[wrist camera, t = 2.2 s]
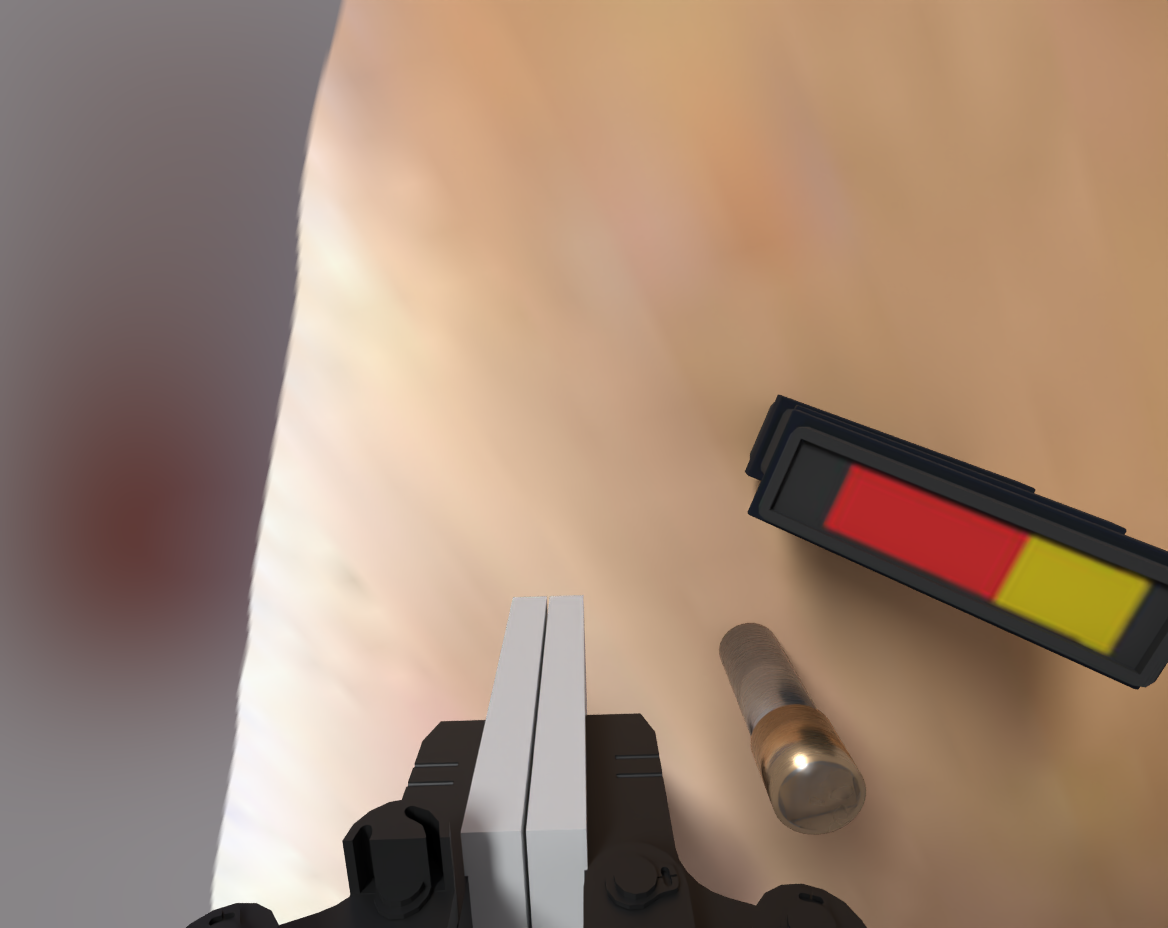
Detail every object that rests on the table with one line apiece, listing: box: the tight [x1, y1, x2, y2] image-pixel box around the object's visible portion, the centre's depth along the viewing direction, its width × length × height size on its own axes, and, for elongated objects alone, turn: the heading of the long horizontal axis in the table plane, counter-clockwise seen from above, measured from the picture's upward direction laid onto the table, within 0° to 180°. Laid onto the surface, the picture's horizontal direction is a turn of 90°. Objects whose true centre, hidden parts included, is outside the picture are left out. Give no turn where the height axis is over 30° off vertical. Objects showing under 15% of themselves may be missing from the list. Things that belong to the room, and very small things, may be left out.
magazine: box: [745, 395, 1168, 689], centre depth 25 cm, size 4×13×15 cm, turn 71°
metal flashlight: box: [719, 623, 866, 835], centre depth 28 cm, size 3×3×10 cm
